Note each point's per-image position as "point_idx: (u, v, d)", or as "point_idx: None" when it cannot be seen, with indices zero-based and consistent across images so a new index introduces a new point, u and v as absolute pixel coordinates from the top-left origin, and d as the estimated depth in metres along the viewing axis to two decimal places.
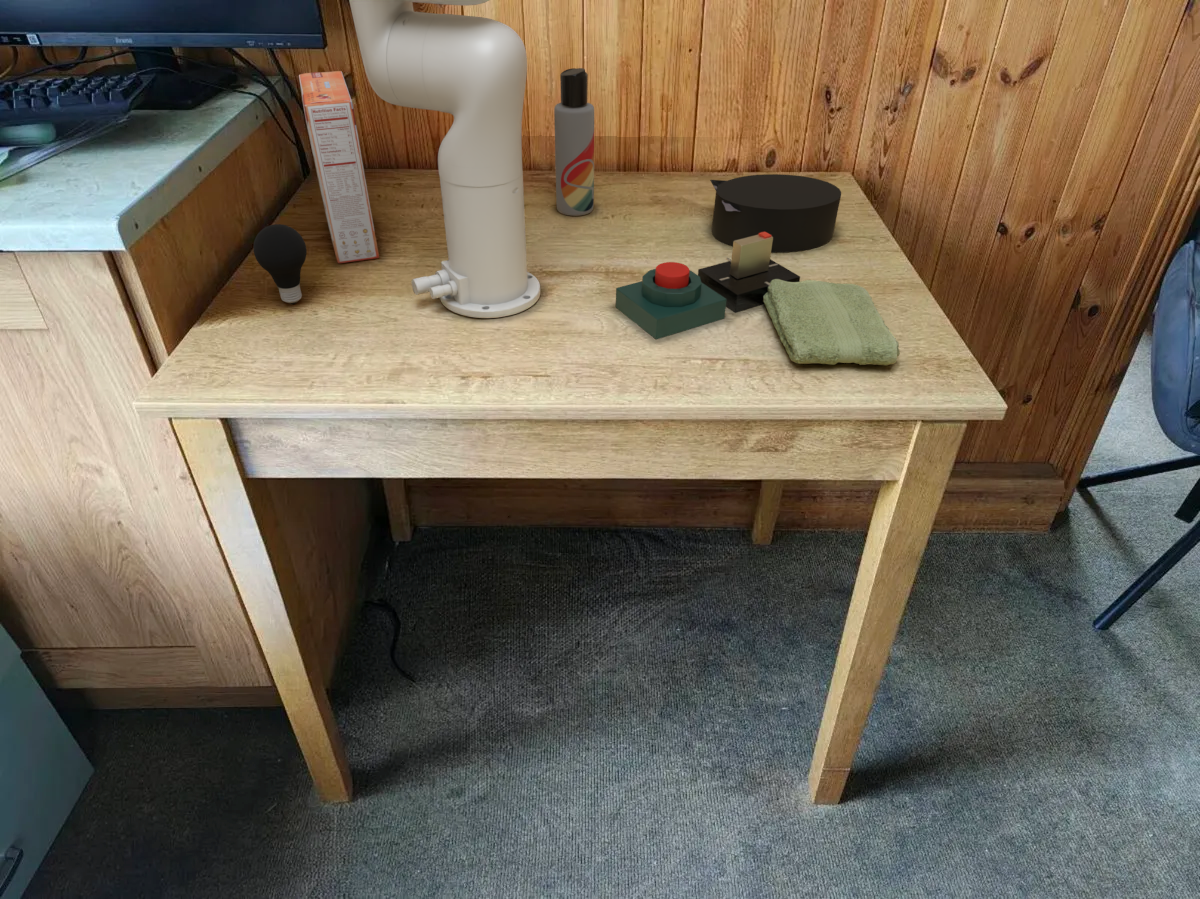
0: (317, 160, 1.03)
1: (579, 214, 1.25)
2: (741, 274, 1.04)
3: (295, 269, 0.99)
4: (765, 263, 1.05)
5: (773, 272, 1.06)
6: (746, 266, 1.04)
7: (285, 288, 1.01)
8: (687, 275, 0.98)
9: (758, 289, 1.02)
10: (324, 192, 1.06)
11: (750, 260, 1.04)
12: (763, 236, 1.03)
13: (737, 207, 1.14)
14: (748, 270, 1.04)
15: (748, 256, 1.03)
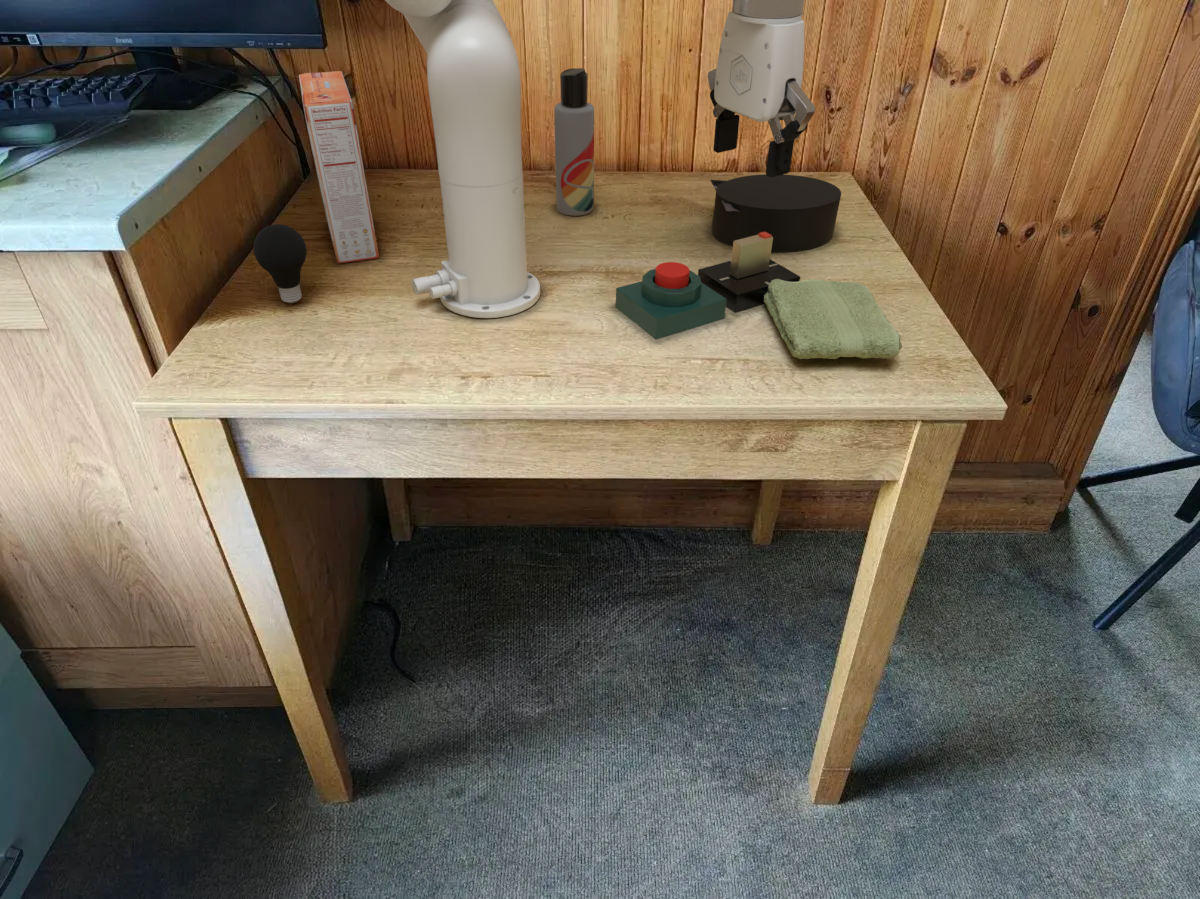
0: (317, 160, 1.03)
1: (579, 214, 1.25)
2: (741, 274, 1.04)
3: (295, 269, 0.99)
4: (765, 263, 1.05)
5: (773, 272, 1.06)
6: (746, 266, 1.04)
7: (285, 288, 1.01)
8: (687, 275, 0.98)
9: (758, 289, 1.02)
10: (324, 192, 1.06)
11: (750, 260, 1.04)
12: (763, 236, 1.03)
13: (737, 207, 1.14)
14: (748, 270, 1.04)
15: (748, 256, 1.03)
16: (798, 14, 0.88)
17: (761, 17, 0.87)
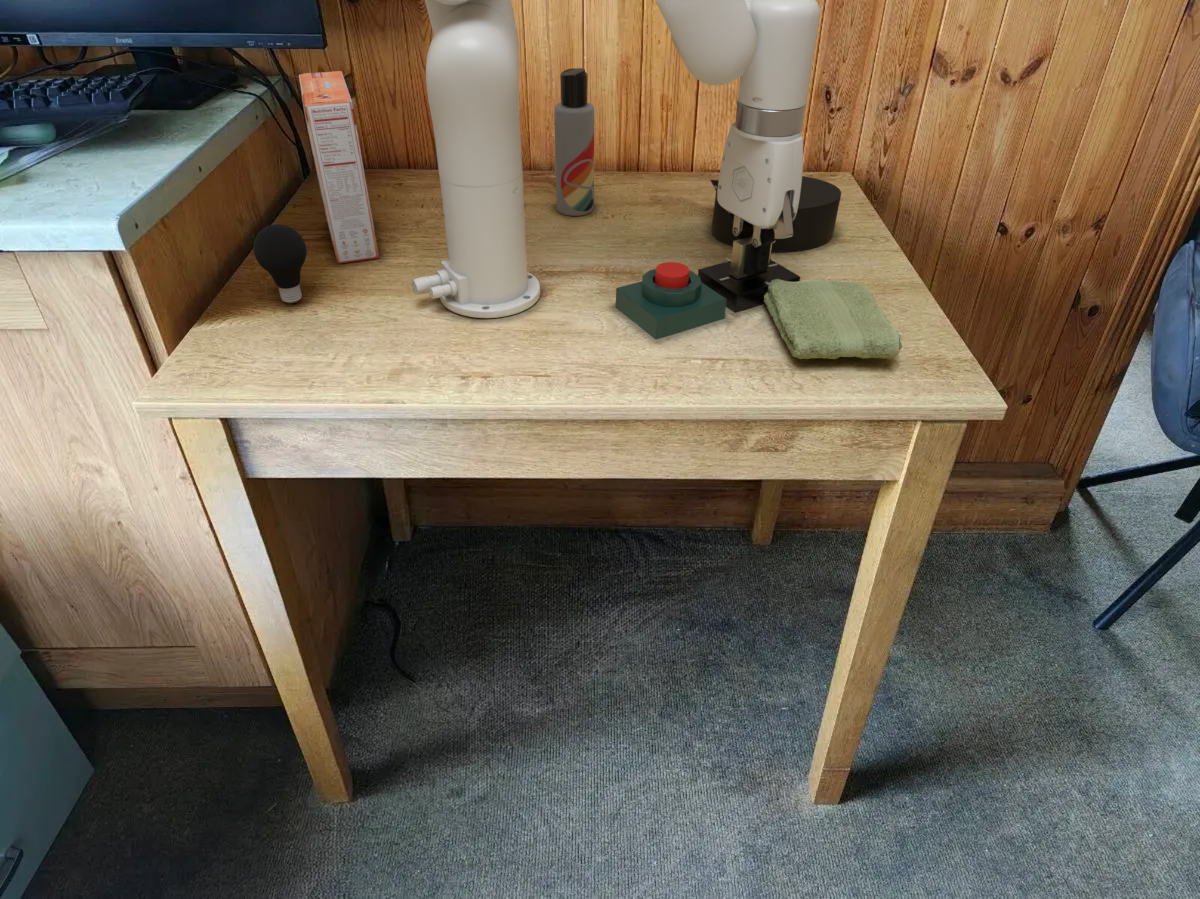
0: (317, 160, 1.03)
1: (579, 214, 1.25)
2: (741, 274, 1.04)
3: (295, 269, 0.99)
4: None
5: (773, 272, 1.06)
6: None
7: (285, 288, 1.01)
8: (687, 275, 0.98)
9: (758, 289, 1.02)
10: (324, 192, 1.06)
11: None
12: None
13: None
14: None
15: None
16: (797, 131, 0.93)
17: (762, 135, 0.92)
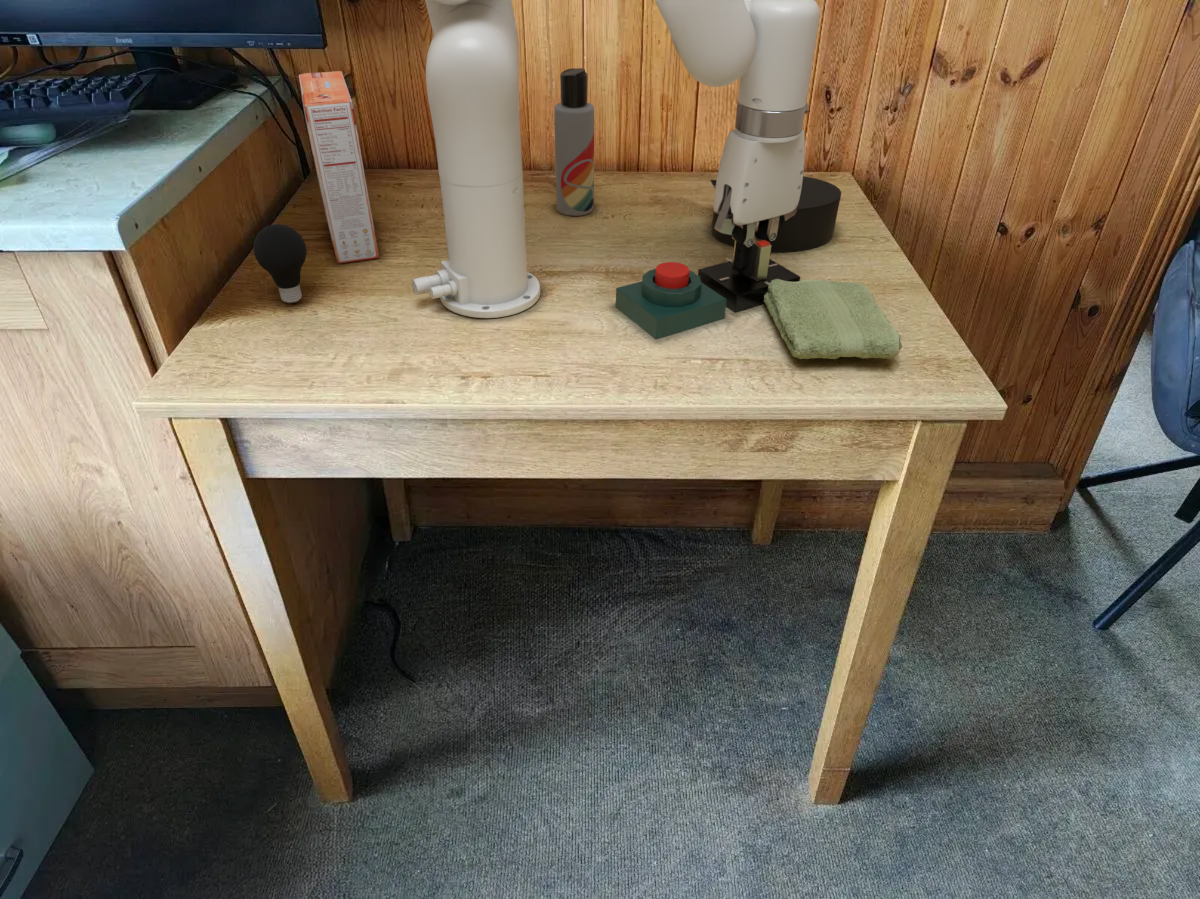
0: (317, 160, 1.03)
1: (579, 214, 1.25)
2: None
3: (295, 269, 0.99)
4: (754, 271, 1.04)
5: (773, 272, 1.06)
6: None
7: (285, 288, 1.01)
8: (687, 275, 0.98)
9: (758, 289, 1.02)
10: (324, 192, 1.06)
11: None
12: (758, 242, 1.02)
13: None
14: None
15: None
16: (751, 134, 0.92)
17: None
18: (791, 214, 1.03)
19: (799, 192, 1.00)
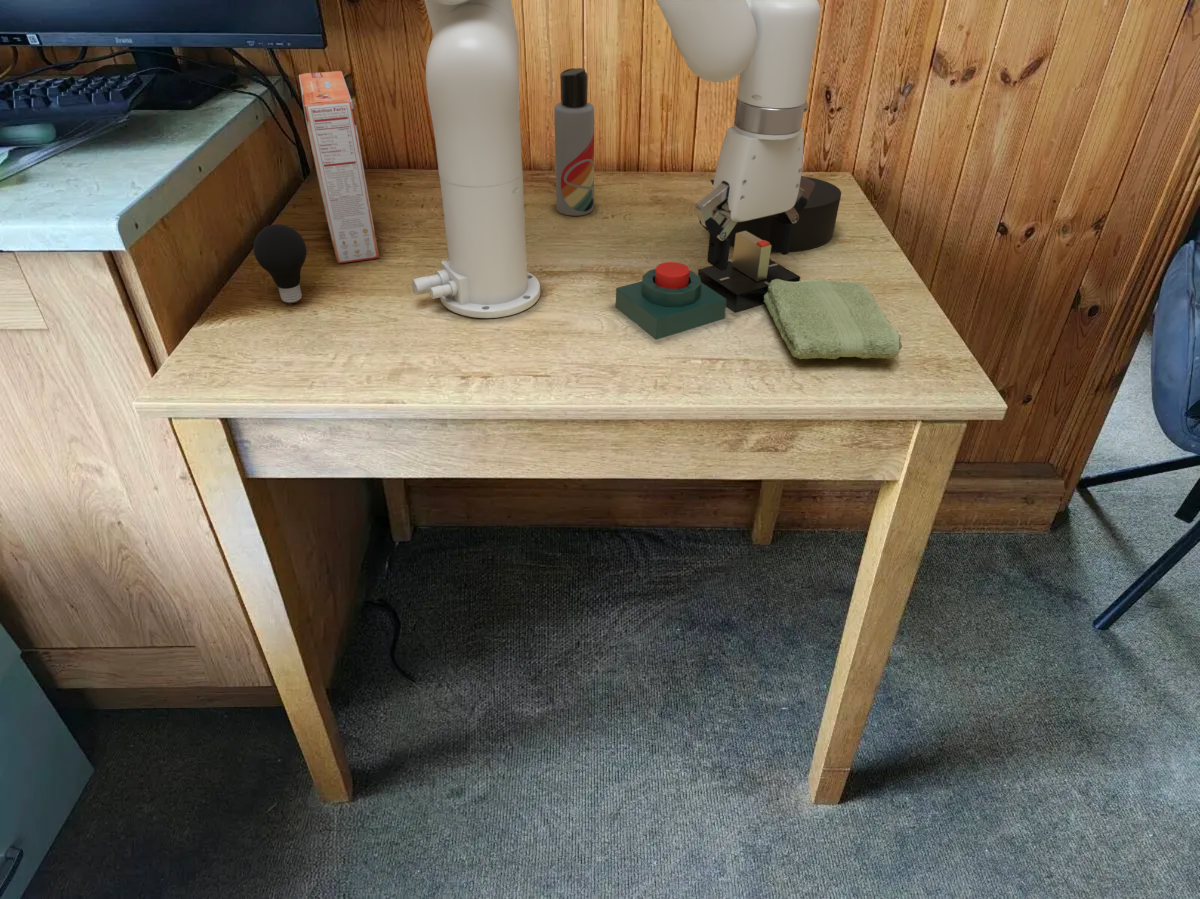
0: (317, 160, 1.03)
1: (579, 214, 1.25)
2: (735, 264, 1.06)
3: (295, 269, 0.99)
4: (754, 271, 1.04)
5: (773, 272, 1.06)
6: (738, 259, 1.05)
7: (285, 288, 1.01)
8: (687, 275, 0.98)
9: (758, 289, 1.02)
10: (324, 192, 1.06)
11: (742, 255, 1.05)
12: (758, 242, 1.02)
13: None
14: (740, 265, 1.06)
15: (740, 249, 1.05)
16: (750, 130, 0.92)
17: None
18: (810, 190, 1.03)
19: (797, 190, 1.00)
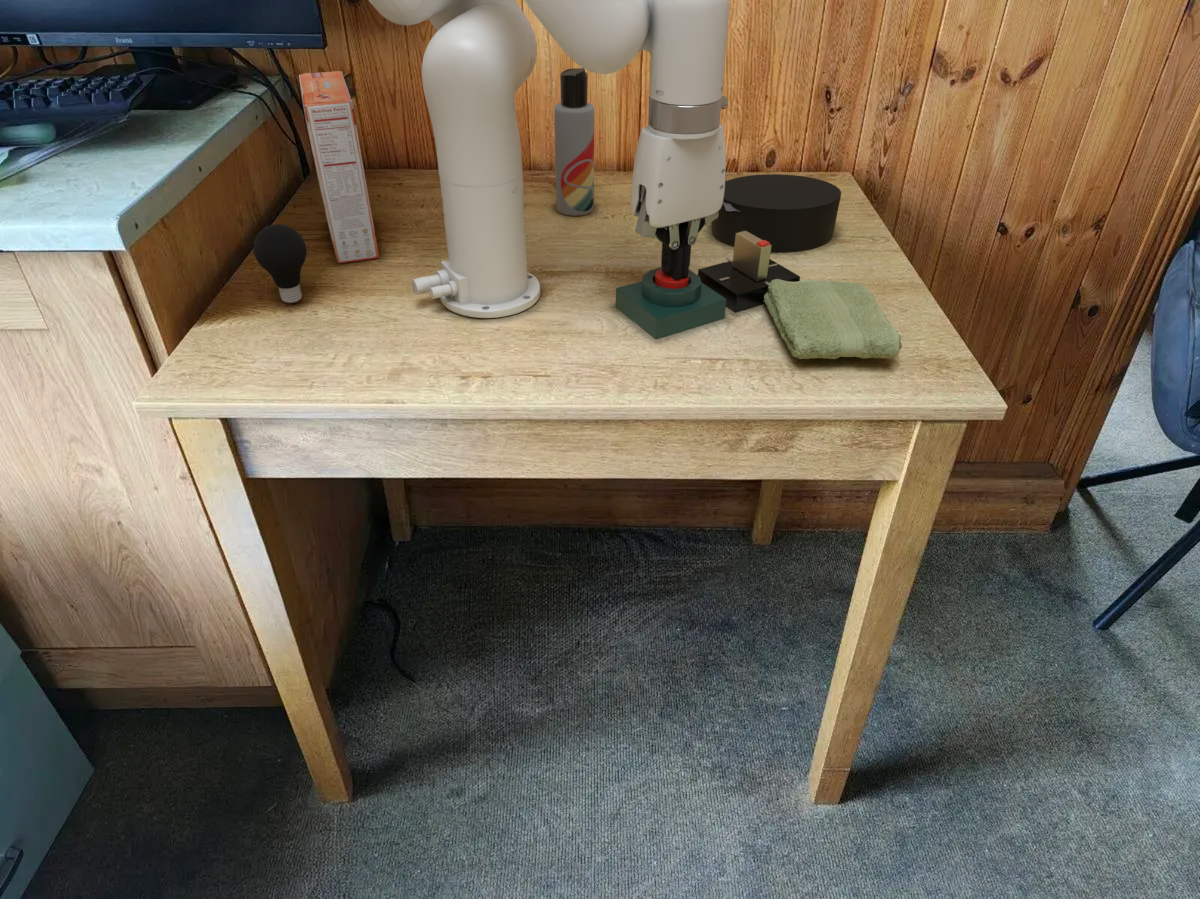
0: (317, 160, 1.03)
1: (579, 214, 1.25)
2: (735, 264, 1.06)
3: (295, 269, 0.99)
4: (754, 271, 1.04)
5: (773, 272, 1.06)
6: (738, 259, 1.05)
7: (285, 288, 1.01)
8: (687, 280, 0.99)
9: (758, 289, 1.02)
10: (324, 192, 1.06)
11: (742, 255, 1.05)
12: (758, 242, 1.02)
13: (737, 207, 1.14)
14: (740, 265, 1.06)
15: (740, 249, 1.05)
16: (663, 130, 0.86)
17: None
18: (712, 218, 0.97)
19: (722, 192, 0.94)
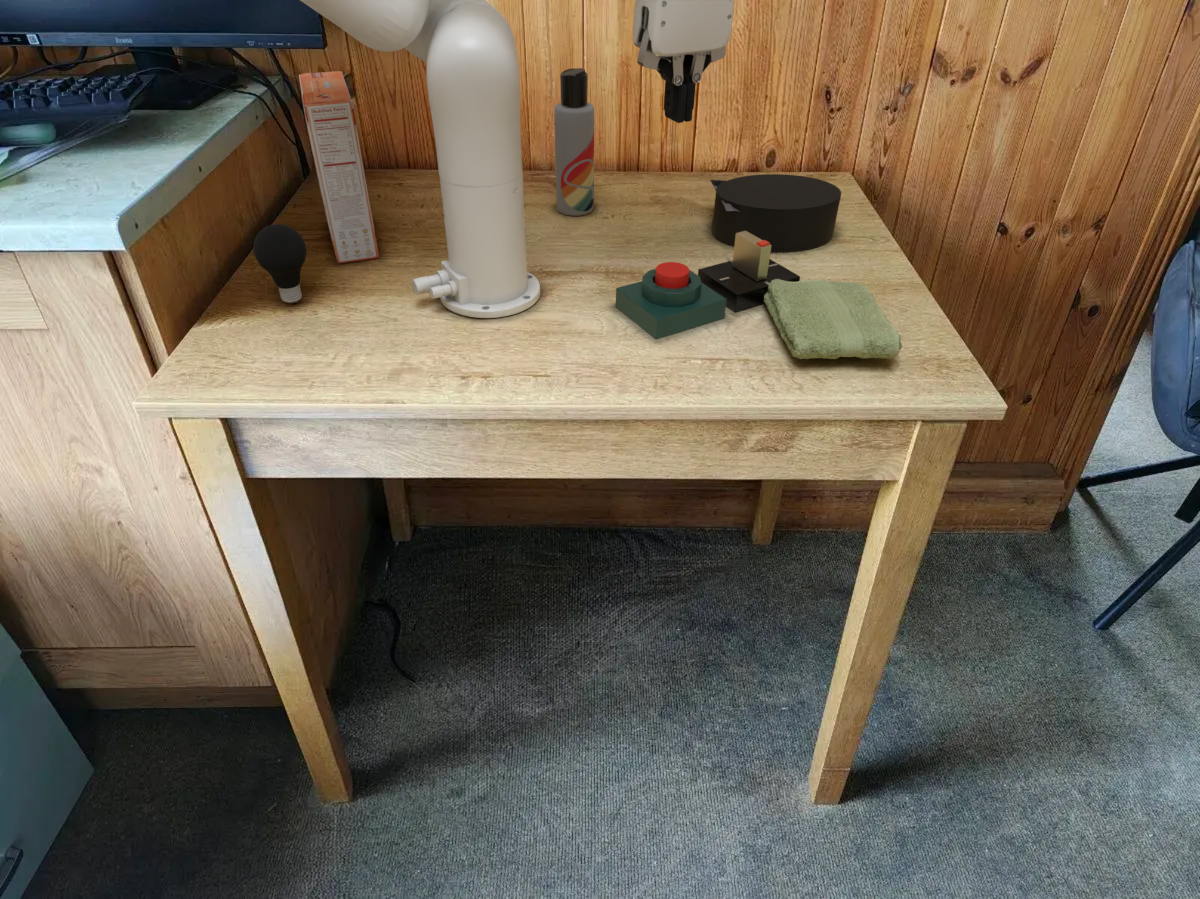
0: (317, 160, 1.03)
1: (579, 214, 1.25)
2: (735, 264, 1.06)
3: (295, 269, 0.99)
4: (754, 271, 1.04)
5: (773, 272, 1.06)
6: (738, 259, 1.05)
7: (285, 288, 1.01)
8: (687, 275, 0.98)
9: (758, 289, 1.02)
10: (324, 192, 1.06)
11: (742, 255, 1.05)
12: (758, 242, 1.02)
13: (737, 207, 1.14)
14: (740, 265, 1.06)
15: (740, 249, 1.05)
16: None
17: None
18: (718, 57, 0.92)
19: (730, 23, 0.89)
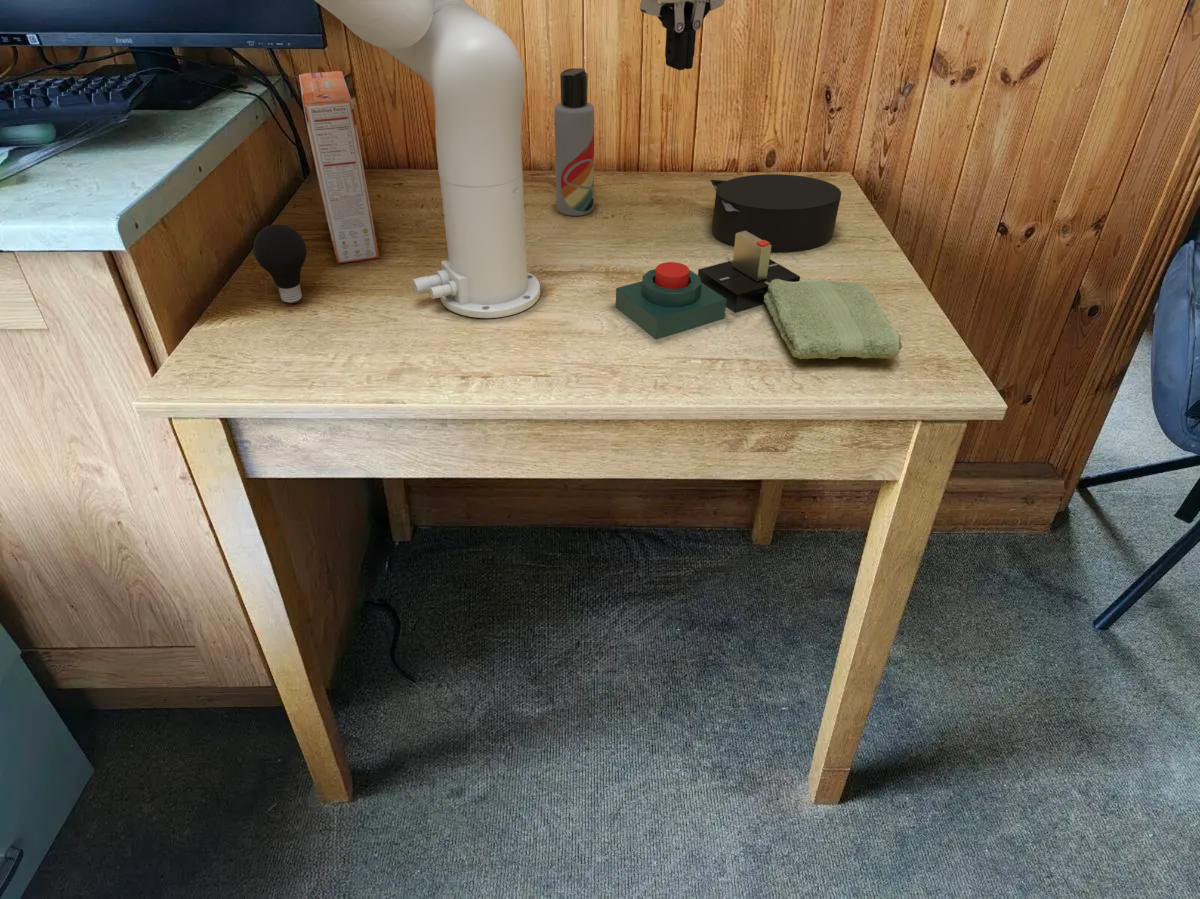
0: (317, 160, 1.03)
1: (579, 214, 1.25)
2: (735, 264, 1.06)
3: (295, 269, 0.99)
4: (754, 271, 1.04)
5: (773, 272, 1.06)
6: (738, 259, 1.05)
7: (285, 288, 1.01)
8: (687, 275, 0.98)
9: (758, 289, 1.02)
10: (324, 192, 1.06)
11: (742, 255, 1.05)
12: (758, 242, 1.02)
13: (737, 207, 1.14)
14: (740, 265, 1.06)
15: (740, 249, 1.05)
16: None
17: None
18: (717, 5, 0.95)
19: None
